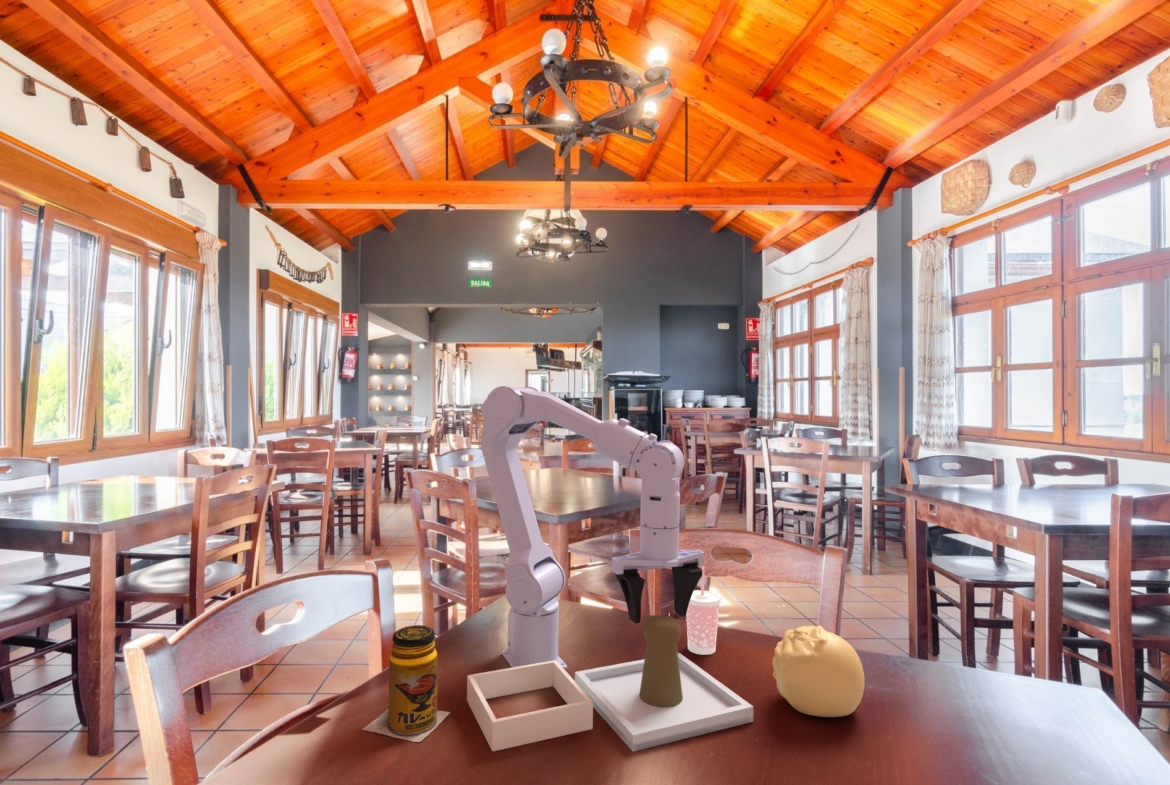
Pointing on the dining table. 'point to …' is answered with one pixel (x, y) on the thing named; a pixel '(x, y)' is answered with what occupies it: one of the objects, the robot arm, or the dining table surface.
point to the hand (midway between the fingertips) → (657, 617)
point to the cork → (661, 663)
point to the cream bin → (532, 723)
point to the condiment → (411, 687)
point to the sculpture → (818, 672)
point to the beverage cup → (702, 620)
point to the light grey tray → (653, 726)
